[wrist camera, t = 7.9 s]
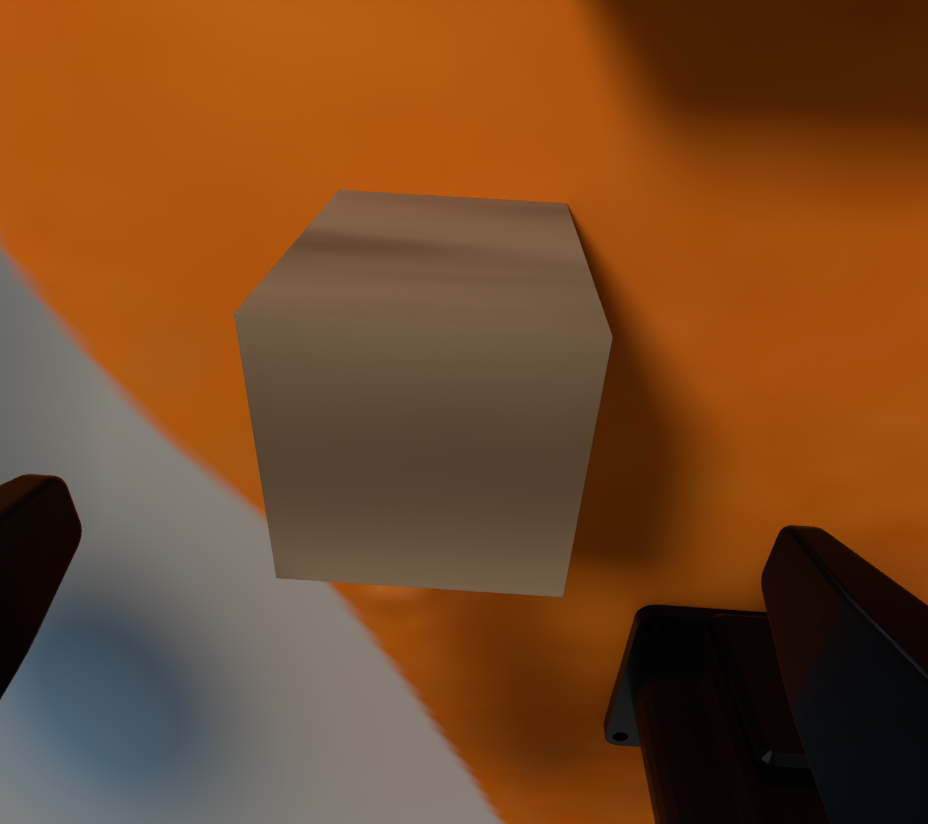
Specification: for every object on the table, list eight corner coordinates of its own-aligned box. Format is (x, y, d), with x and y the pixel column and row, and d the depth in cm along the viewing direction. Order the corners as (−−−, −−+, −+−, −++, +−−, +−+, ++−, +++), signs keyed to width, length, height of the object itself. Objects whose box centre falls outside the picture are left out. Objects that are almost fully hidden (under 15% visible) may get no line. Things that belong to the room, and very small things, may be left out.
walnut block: (540, 397, 15) (563, 597, 10) (350, 385, 15) (276, 578, 10) (566, 203, 13) (613, 337, 8) (339, 189, 13) (233, 313, 8)
